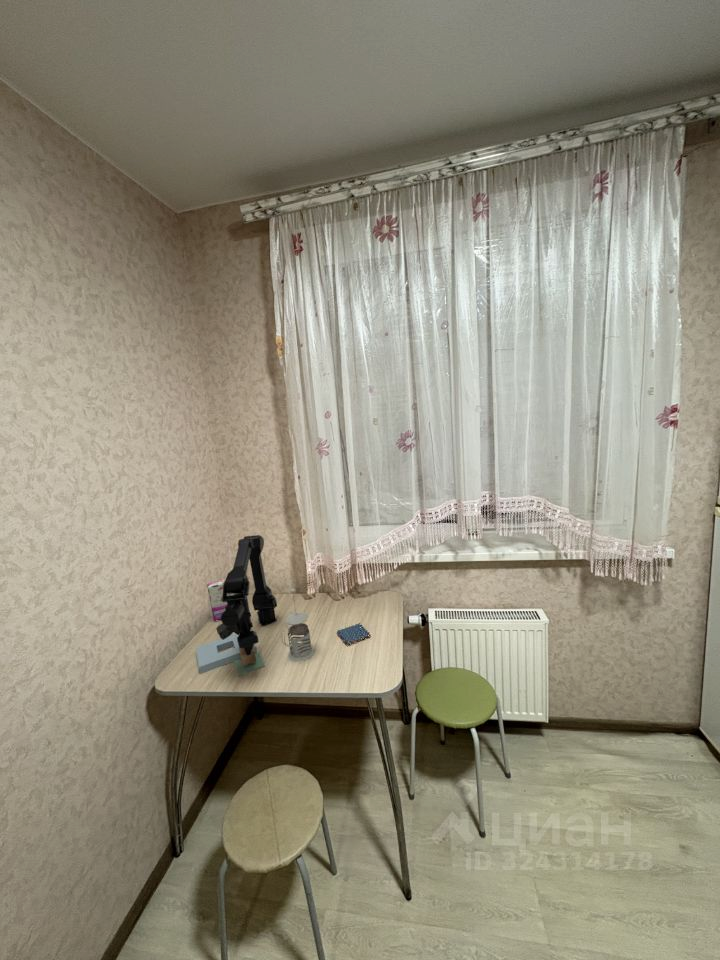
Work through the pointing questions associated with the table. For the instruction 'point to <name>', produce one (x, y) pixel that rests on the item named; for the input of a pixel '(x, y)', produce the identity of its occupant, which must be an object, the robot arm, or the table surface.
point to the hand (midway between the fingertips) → (247, 651)
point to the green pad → (250, 667)
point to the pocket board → (212, 659)
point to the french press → (298, 628)
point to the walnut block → (247, 659)
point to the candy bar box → (217, 598)
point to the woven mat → (352, 634)
